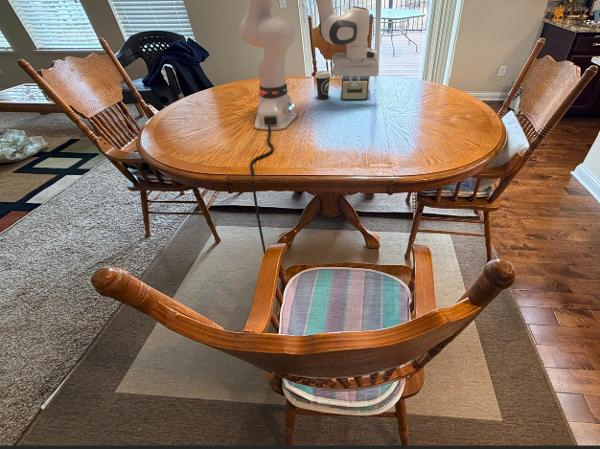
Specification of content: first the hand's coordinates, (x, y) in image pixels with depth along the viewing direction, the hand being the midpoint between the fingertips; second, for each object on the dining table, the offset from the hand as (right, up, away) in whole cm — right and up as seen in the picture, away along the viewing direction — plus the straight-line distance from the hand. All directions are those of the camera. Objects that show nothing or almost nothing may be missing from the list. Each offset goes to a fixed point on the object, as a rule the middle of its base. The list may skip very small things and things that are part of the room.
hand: (354, 86), depth 139 cm
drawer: (+3, +1, +14) cm, 14 cm away
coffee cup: (-13, +2, +17) cm, 21 cm away
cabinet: (+3, +3, +17) cm, 18 cm away
